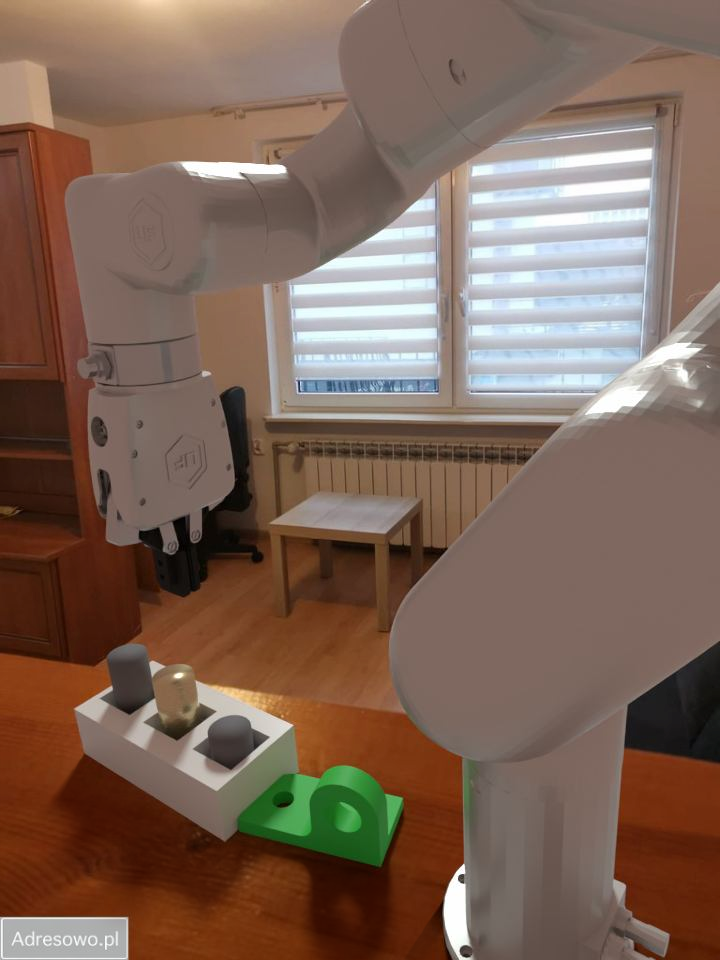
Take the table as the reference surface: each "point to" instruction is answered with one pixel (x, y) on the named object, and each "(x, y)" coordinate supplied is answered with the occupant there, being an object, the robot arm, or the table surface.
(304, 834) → the mechanical part
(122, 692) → the far knob
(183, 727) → the brass knob
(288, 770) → the white peg holder block
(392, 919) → the table surface
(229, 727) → the near knob
